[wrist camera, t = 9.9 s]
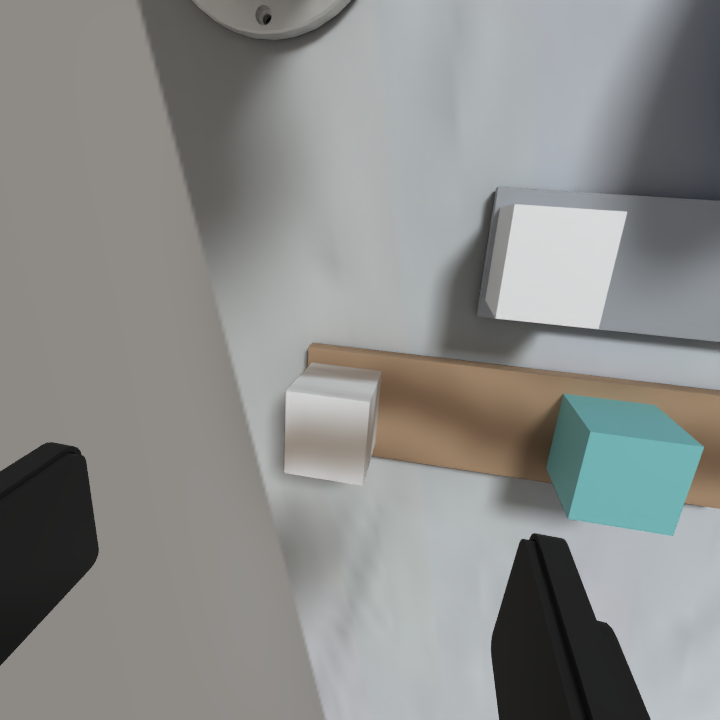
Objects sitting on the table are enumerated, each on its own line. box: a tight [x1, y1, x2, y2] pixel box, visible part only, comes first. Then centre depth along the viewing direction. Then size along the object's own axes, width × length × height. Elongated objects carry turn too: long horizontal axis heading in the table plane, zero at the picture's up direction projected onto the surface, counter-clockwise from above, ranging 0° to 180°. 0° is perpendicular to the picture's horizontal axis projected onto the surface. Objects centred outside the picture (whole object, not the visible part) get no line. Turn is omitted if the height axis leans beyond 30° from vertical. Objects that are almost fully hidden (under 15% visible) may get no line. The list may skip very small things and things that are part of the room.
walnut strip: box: [284, 343, 720, 509], centre depth 25 cm, size 7×26×6 cm, turn 86°
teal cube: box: [546, 394, 704, 536], centre depth 24 cm, size 5×5×5 cm
